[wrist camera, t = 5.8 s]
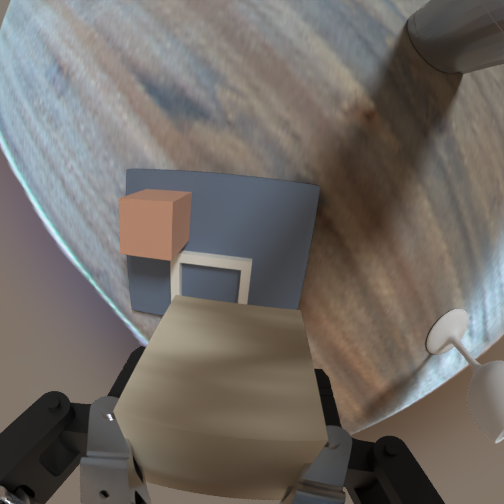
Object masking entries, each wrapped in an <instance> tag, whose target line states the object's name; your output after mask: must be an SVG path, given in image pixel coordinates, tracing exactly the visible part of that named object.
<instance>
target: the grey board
mask: <svg viewBox="0 0 504 504" xmlns="http://www.w3.org/2000/svg"><path fill="white" fill-rule="evenodd" d="M145 189H155V190H170V191H184V192H192V197H191V214H190V235H189V241H188V242H187V243H186V244H185V245H184V247H183V248H182V249H181V250H180V251H179V253H178V254H177V255H176V256H175V257H174V259H173V260H172V261H169V260H161V259H154V258H146V257H139V256H132V255H127V262H128V276H129V288H130V297H131V306H132V310H137V311H142V312H147V313H152V314H157V315H163V316H164V314H165V312H166V311H167V309H168V307H169V305H170V304H171V302H172V300H173V299H174V297H175V295H180V296H187V297H194V298H201V299H208V300H215V301H222V302H230V303H238V304H246V305H255V306H264V307H273V308H283V309H293V310H298V306H299V301H300V297H301V292H302V287H303V282H304V277H305V272H306V267H307V262H308V257H309V252H310V246H311V241H312V235H313V229H314V224H315V218H316V212H317V205H318V199H319V192H320V186H318V185H313V184H306V183H300V182H293V181H285V180H278V179H270V178H262V177H253V176H243V175H233V174H223V173H211V172H197V171H181V170H161V169H127V173H126V196H127V195H130V194H133V193H136V192H139V191H142V190H145Z"/></svg>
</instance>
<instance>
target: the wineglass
mask: <svg viewBox="0 0 504 504" xmlns="http://www.w3.org/2000/svg"><path fill="white" fill-rule="evenodd" d="M467 325H468V315H467V313H466V311H465V310H463V309H454V310H451V311H449V312H448V313H446V314H445V315H443V316H442V317H441V318H440V319H439V320H438V321H437V322H436V323H435V325H434V326H433V328H432V329H431V331H430V333H429V335H428V338H427V349H428V351H429V352H430V353H432V354H442V353H445V352H447V351H449V350H450V349H452V348H453V347H454V346H455V347H456V348H457V349H458V350H459V351H460V353H461V354H462V355H463V356H464V357H465V359H466V360H467V362H468V363H469V365H470V366H471V368H472V370H473V377H472V379H471V381H470V384H469V387H468V393H467V404H468V408H469V410H470V413H471V415H472V417H473V419H474V421H475V422H476V424H477V425H478V427H479V428H480V429H481V430H482V431H483V433H484V434H485V435H486V436H487V437H488V438H489V439H490V440H491V441H492V442H493V443H498V442H500V441H502V440H503V439H504V361H493V362H489V363H487V364H484V365H480V364H479V363H478V362H477V361H476V360H475V359H474V358H473V357H472V356H471V355H470V354H469V352H468V351H467V350H466V348H465V347H464V346H463V344H462V343H461V341H460V340H461V338H462V337H463V335H464V333H465V331H466V329H467Z"/></svg>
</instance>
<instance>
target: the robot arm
mask: <svg viewBox="0 0 504 504" xmlns="http://www.w3.org/2000/svg"><path fill="white" fill-rule="evenodd" d="M407 28H408V34H409V36H410V39H411V41H412V43H413V45H414V47H415V48H416V49H417V51H418V52H419V54H420V55H421V56H422V57H423V58H424V59H425V60H426V61H427V62H428V63H429V64H430V65H432V66H433V67H435V68H436V69H438V70H440V71H442V72H446V73H455V72H461V73H463V74H466V73H469V72H473V71H476V70H480V69H484V68H488V67H492V66H496V65H501V64H504V0H430V1H429V2H428V3H426V4H425V5H424V6H422V7H421V8H420V9H419V10H417V11H416V12H415V13H414V14H413V15H411V17H410V18H409V20H408V24H407ZM145 349H146V347H143V346H140V347H139V348H137V349H136V350H135V351H133V352H132V353H131V355H130V357H129V359H128V360H127V363H126V364H125V365H124V367H123V370H122V371H121V372H120V374H119V376H118V378H117V379H116V381H115V383H114V385H113V387H112V388H111V390H110V392H109V394H108V395H107V396H105V397H101V398H98V399H97V400H95V401H94V402H93V403H92V404H80V403H70V401H69V399H68V397H67V396H66V395H65V394H63V393H61V392H58V391H51V392H48V393H45V394H44V395H43V396H42V397H40V398H39V399H38V400H37V401H36V402H35V403H33V404H32V406H30V407H29V408H28V409H27V410H26V411H25V412H24V413H22V414H21V415H20V416H19V417H18V418H17V419H16V420H15V421H13V422H12V423H11V424H10V425H9V426H8V427H7V428H6V429H5V430H4V431H3V432H2V433H0V504H45V503H46V502H47V501H48V500H49V499H50V497H51V496H52V495H53V494H54V493H55V492H56V490H57V489H58V488H59V487H60V486H61V485H62V484H63V482H64V481H65V480H66V479H67V478H68V477H69V475H70V474H71V473H72V472H73V471H74V470H75V468H76V467H77V466H78V465H79V464H80V499H81V504H151V499H150V496H149V493H148V490H147V486H146V480H145V473H144V470H143V468H142V466H139V465H138V464H137V462H136V460H135V458H134V456H133V454H132V446H131V443H130V441H129V439H127V438H124V436H123V433H122V431H121V429H120V427H119V424H118V422H117V420H116V417H115V415H114V412H113V410H114V408H115V406H116V404H117V402H118V400H119V398H120V396H121V394H122V392H123V390H124V388H125V386H126V384H127V383H128V381H129V379H130V377H131V375H132V373H133V371H134V369H135V367H136V365H137V363H138V362H139V360H140V358H141V356H142V354H143V352H144V350H145ZM314 371H315V376H316V380H317V385H318V390H319V395H320V400H321V405H322V410H323V415H324V420H325V425H326V430H327V436H328V441H327V443H326V444H325V446H324V447H323V449H322V450H321V452H320V453H319V455H318V456H317V458H316V459H315V460H314V462H313V463H304V465H303V466H302V468H301V469H300V472H299V474H298V477H297V480H296V482H295V485H294V486H288V487H287V489H286V490H285V492H284V495H283V497H282V499H281V502H280V504H344V503H345V498H346V495H345V492H343V490H342V489H343V487H346V489H347V491H348V493H349V495H350V497H351V499H352V501H353V503H354V504H445V503H444V501H443V500H442V498H441V497H440V495H439V494H438V492H437V491H436V489H435V488H434V486H433V485H432V483H431V482H430V480H429V479H428V477H427V476H426V474H425V473H424V471H423V470H422V468H421V467H420V465H419V464H418V462H417V461H416V459H415V458H414V456H413V455H412V453H411V452H410V450H409V449H408V448H407V446H406V445H405V443H404V442H403V441H402V440H401V439H399V438H397V437H394V436H384V437H382V438H380V439H378V440H377V441H376V443H374V442H368V441H361V440H357V439H354V438H352V437H351V436H350V434H349V433H348V432H347V431H346V430H344V429H343V428H342V427H341V424H340V420H339V416H338V411H337V407H336V403H335V399H334V397H333V391H332V389H331V384H330V380H329V377H328V376H327V375H326V373H325V372H324V371H323V370H322V369H314Z"/></svg>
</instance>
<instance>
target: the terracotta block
mask: <svg viewBox="0 0 504 504" xmlns="http://www.w3.org/2000/svg"><path fill="white" fill-rule="evenodd" d="M191 197H192V192H184V191H170V190H155V189H145V190H142V191H139V192H136V193H133V194H130V195H127V196H124V197H121V198H119V235H120V254H125V255H132V256H139V257H146V258H154V259H161V260H169V261H172V260H173V259H174V257H175V256H176V255H177V254H178V253H179V251H180V250H181V249H182V248H183V247H184V245H185V244H186V243H187V242H188V241H189V235H190V214H191Z"/></svg>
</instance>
